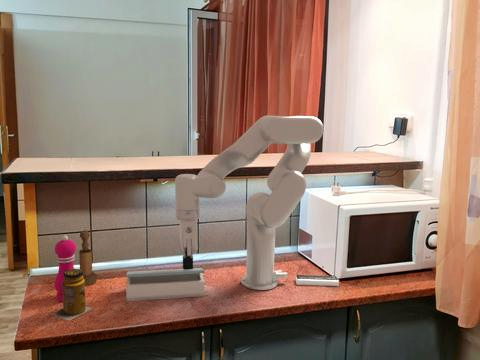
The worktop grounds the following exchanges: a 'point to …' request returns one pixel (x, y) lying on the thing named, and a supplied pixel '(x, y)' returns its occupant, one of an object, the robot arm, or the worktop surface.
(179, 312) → the worktop surface
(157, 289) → the white open box
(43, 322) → the worktop surface
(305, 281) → the multiport hub
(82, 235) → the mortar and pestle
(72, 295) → the condiment
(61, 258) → the pepper mill
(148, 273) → the cover
